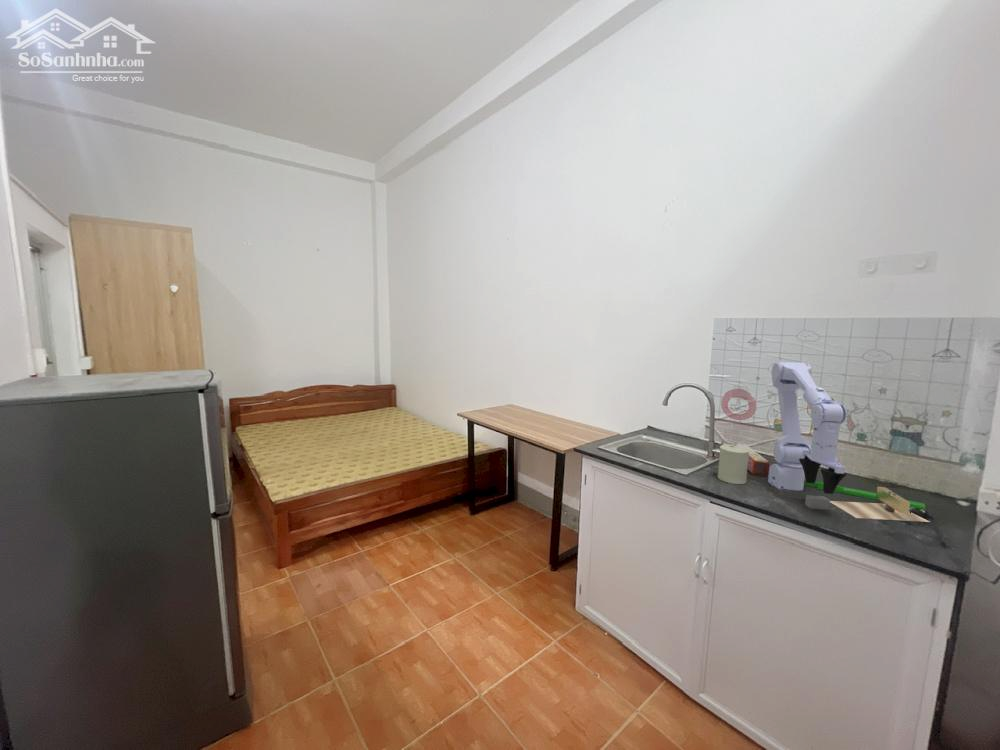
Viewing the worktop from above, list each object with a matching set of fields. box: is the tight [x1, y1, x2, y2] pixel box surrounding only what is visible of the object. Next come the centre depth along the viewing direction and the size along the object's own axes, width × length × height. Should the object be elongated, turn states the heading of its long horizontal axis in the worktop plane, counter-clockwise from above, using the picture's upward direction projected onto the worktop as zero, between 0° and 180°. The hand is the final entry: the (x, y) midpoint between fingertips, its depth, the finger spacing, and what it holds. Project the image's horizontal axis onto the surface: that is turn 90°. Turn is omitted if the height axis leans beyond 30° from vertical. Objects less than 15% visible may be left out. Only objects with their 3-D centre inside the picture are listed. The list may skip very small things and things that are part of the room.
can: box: [717, 444, 749, 485], centre depth 141 cm, size 9×9×12 cm
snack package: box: [734, 443, 771, 477], centre depth 155 cm, size 21×7×7 cm, turn 168°
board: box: [829, 500, 931, 523], centre depth 115 cm, size 19×11×3 cm, turn 84°
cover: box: [804, 494, 831, 511], centre depth 117 cm, size 9×8×5 cm
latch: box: [876, 486, 910, 514], centre depth 114 cm, size 11×2×4 cm, turn 162°
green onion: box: [804, 479, 926, 510], centre depth 125 cm, size 5×3×30 cm
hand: (819, 487), depth 116 cm, fingers open, 7 cm apart
